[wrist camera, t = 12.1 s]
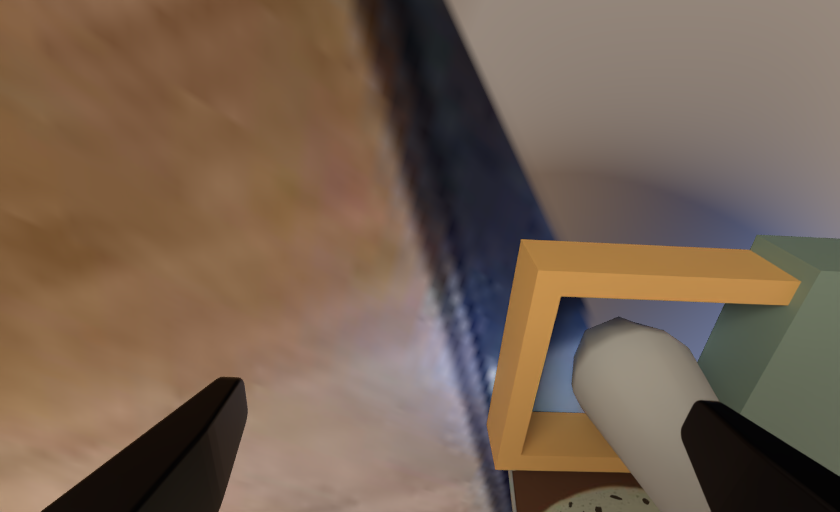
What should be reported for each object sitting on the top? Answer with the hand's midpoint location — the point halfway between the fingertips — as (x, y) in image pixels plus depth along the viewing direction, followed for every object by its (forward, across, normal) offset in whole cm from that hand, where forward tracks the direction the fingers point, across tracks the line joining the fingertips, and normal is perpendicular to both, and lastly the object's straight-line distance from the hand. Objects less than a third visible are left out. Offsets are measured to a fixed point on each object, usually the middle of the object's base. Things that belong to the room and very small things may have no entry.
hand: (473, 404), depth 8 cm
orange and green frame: (+12, -16, +7) cm, 21 cm away
